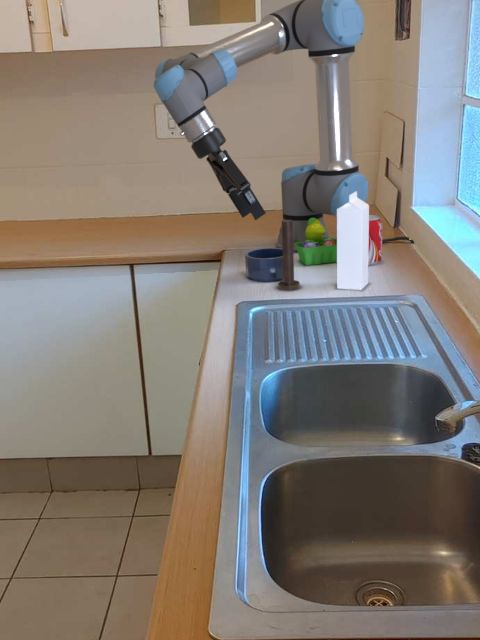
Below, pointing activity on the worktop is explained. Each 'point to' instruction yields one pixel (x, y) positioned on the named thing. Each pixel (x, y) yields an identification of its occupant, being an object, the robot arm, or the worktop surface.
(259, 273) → the bowl
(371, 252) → the soda can
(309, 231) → the fruit basket
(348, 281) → the milk
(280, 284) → the brown post with base
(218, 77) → the robot arm
